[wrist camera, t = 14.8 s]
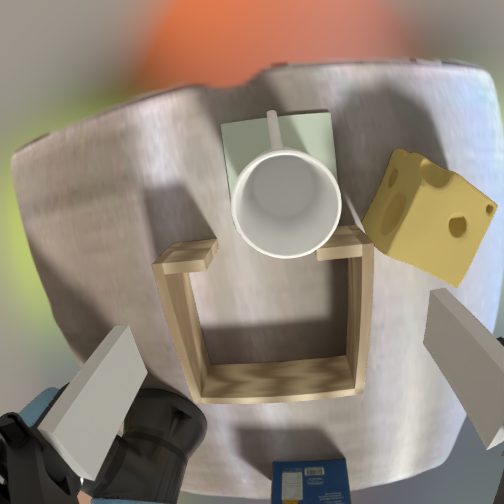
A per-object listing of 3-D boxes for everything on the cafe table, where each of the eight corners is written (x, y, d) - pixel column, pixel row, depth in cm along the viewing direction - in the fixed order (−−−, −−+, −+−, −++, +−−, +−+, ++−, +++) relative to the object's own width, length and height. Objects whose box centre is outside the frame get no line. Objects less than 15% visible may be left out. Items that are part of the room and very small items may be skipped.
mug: (239, 120, 31) (218, 106, 20) (318, 116, 30) (340, 100, 19) (247, 225, 35) (232, 264, 23) (322, 221, 34) (344, 259, 23)
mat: (235, 228, 35) (235, 228, 35) (221, 124, 31) (220, 124, 31) (339, 217, 34) (340, 218, 34) (329, 112, 30) (330, 112, 30)
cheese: (391, 147, 31) (432, 149, 21) (457, 190, 31) (504, 206, 22) (355, 226, 34) (381, 256, 25) (422, 261, 35) (459, 296, 25)
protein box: (338, 478, 53) (343, 533, 38) (271, 481, 54) (268, 537, 40) (346, 457, 49) (355, 519, 35) (272, 460, 51) (268, 524, 36)
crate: (204, 370, 43) (194, 403, 36) (172, 243, 37) (151, 264, 30) (353, 360, 40) (363, 393, 34) (356, 224, 34) (373, 243, 27)
